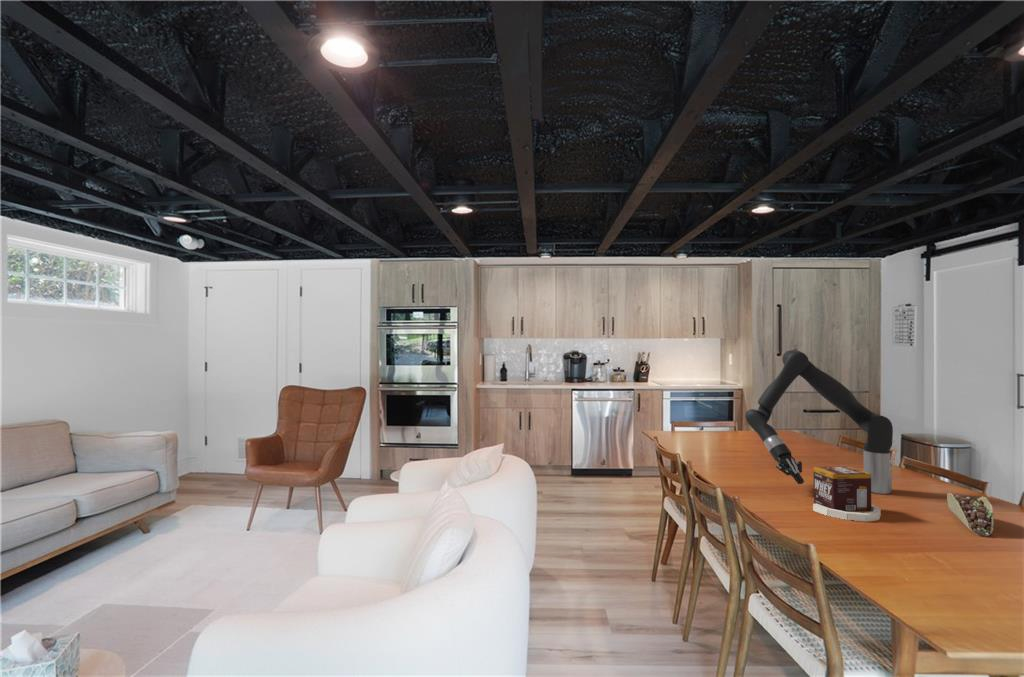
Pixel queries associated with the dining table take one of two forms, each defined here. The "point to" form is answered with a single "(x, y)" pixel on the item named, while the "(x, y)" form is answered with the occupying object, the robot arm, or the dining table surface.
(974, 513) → the taco
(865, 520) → the segmented curved arch
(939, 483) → the dining table surface
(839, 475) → the supplement box
